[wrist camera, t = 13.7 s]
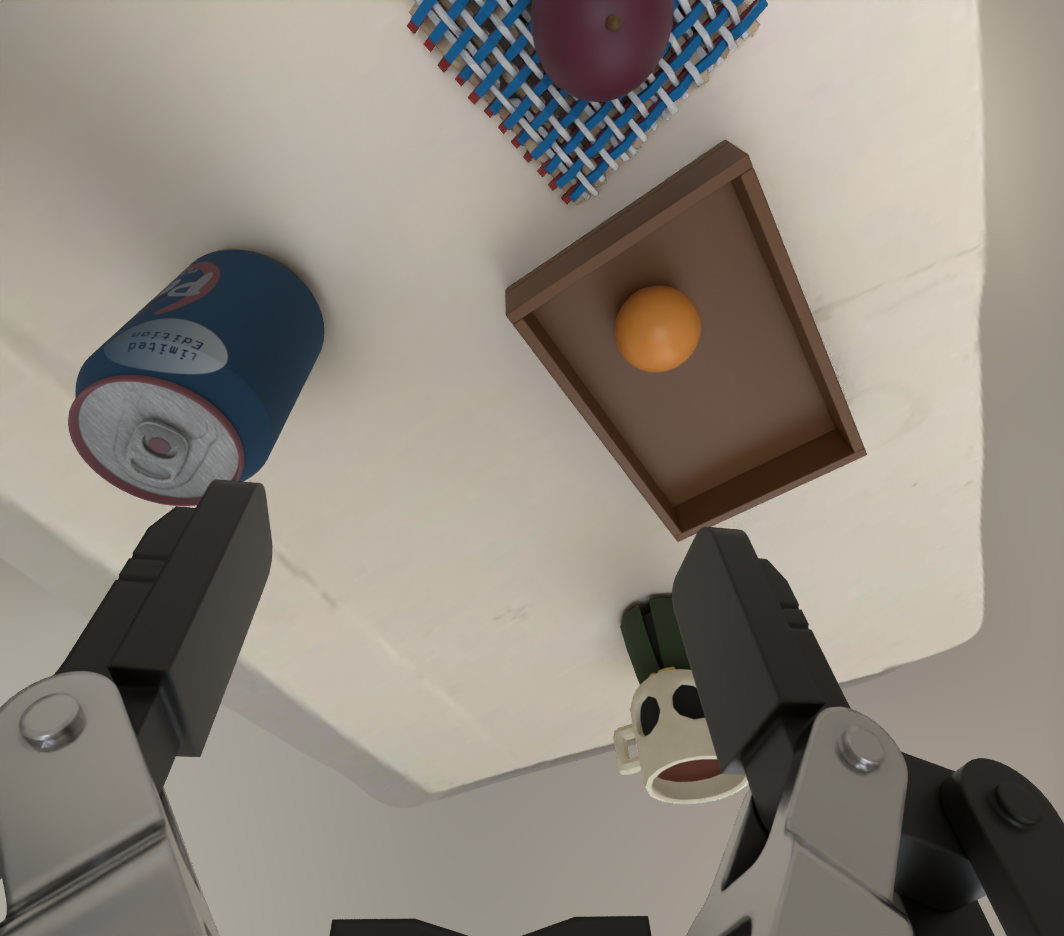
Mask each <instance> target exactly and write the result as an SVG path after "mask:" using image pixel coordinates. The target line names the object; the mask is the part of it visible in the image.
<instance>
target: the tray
mask: <svg viewBox="0 0 1064 936" xmlns="http://www.w3.org/2000/svg"><path fill="white" fill-rule="evenodd" d="M660 285H662V286H669V287H673V288H675V289H678V290H680V291H681V292H683V293H684V294H686V295H687V296H688V297H689V298H690V299H691V300H692V302H693V303H694V304H695V306H696V308H697V310H698V313H699V316H700V321H701V333H700V339H699V342H698V344H697V346H696V348H695V350H694V352H693V353H692V355H691V356H690V357H689V358H688V359H687V360H686V361H685V362H684V363H682V364H681V365H680V366H678V367H676V368H674V369H672V370H669V371H665V372H658V373H654V372H647V371H643V370H640V369H638V368H636V367H634V366H632V365H631V364H630V363H628V362H627V361H626V360H625V358H624V357H623V356H622V355H621V353H620V351H619V349H618V347H617V344H616V340H615V334H614V329H615V321H616V318H617V315H618V312H619V311H620V309H621V307H622V305H623V304H624V303H625V301H626V300H627V299H628V298H629V297H630V296H631V295H632V294H633V293H635V292H636V291H638V290H639V289H642V288H645V287H650V286H660ZM505 293H506V295H505V298H506V316H507V318H508V319H509V320H510V321H511V323H512V324H513V325H514V327H515V328H516V329H517V331H518V332H519V333H520V335H521V336H522V337H523V339H524V340H525V341H526V342H527V344H528V345H529V346H530V348H531V349H532V350H533V352H534V353H535V354H536V356H537V357H538V358H539V360H540V361H541V362H542V364H543V365H544V366H545V368H546V369H547V370H548V372H549V373H550V374H551V375H552V377H553V378H554V379H555V381H556V382H557V383H558V385H559V386H560V387H561V389H562V390H563V391H564V393H565V394H566V395H567V397H568V398H569V399H570V401H571V402H572V403H573V404H574V406H575V407H576V408H577V410H578V411H579V412H580V414H581V415H582V416H583V418H584V419H585V420H586V422H587V423H588V424H589V426H590V427H591V428H592V430H593V431H594V432H595V433H596V435H597V436H598V437H599V439H600V440H601V441H602V443H603V444H604V445H605V447H606V448H607V449H608V451H609V452H610V453H611V455H612V456H613V457H614V459H615V460H616V461H617V463H618V464H619V465H620V466H621V468H622V469H623V470H624V472H625V473H626V474H627V476H628V477H629V478H630V480H631V481H632V482H633V484H634V485H635V486H636V488H637V489H638V490H639V492H640V493H641V494H642V495H643V497H644V498H645V499H646V501H647V502H648V503H649V505H650V506H651V507H652V509H653V510H654V511H655V513H656V514H657V515H658V517H659V518H660V519H661V521H662V522H663V523H664V525H665V526H666V527H667V528H668V530H669V531H670V532H671V534H672V535H673V536H674V538H675V539H676V540H677V541H678V542H679V541H681V540H683V539H685V538H687V537H689V536H692V535H694V534H696V533H697V532H698V531H699V530H700V529H701V528H702V527H711V526H713V525H716V524H718V523H720V522H722V521H724V520H726V519H729V518H731V517H733V516H735V515H737V514H739V513H742V512H744V511H746V510H748V509H750V508H752V507H755V506H757V505H759V504H761V503H763V502H766V501H768V500H770V499H772V498H774V497H776V496H779V495H781V494H783V493H785V492H787V491H789V490H792V489H794V488H796V487H798V486H800V485H802V484H805V483H807V482H809V481H811V480H813V479H816V478H818V477H820V476H822V475H824V474H826V473H829V472H831V471H833V470H835V469H837V468H839V467H842V466H844V465H846V464H848V463H850V462H852V461H855V460H857V459H859V458H861V457H863V456H866V455H867V453H866V450H865V448H864V445H863V443H862V440H861V438H860V435H859V433H858V430H857V428H856V425H855V423H854V420H853V418H852V415H851V413H850V410H849V408H848V405H847V403H846V400H845V397H844V395H843V392H842V390H841V387H840V385H839V382H838V380H837V377H836V375H835V372H834V370H833V367H832V365H831V362H830V360H829V357H828V355H827V352H826V350H825V347H824V344H823V342H822V339H821V337H820V334H819V332H818V329H817V327H816V324H815V322H814V319H813V317H812V314H811V312H810V309H809V307H808V304H807V302H806V299H805V297H804V294H803V291H802V289H801V286H800V284H799V281H798V279H797V276H796V274H795V271H794V269H793V266H792V264H791V261H790V259H789V256H788V254H787V251H786V249H785V246H784V244H783V241H782V239H781V236H780V233H779V231H778V228H777V226H776V223H775V221H774V218H773V216H772V213H771V211H770V208H769V206H768V203H767V201H766V198H765V196H764V193H763V191H762V188H761V186H760V183H759V180H758V178H757V175H756V173H755V170H754V168H753V165H752V163H751V160H750V158H749V155H748V154H747V153H745V152H744V151H742V150H741V149H739V148H738V147H736V146H735V145H733V144H732V143H730V142H729V141H727V140H724V141H723V142H721V143H720V144H718V145H717V146H715V147H714V148H712V149H711V150H710V151H708V152H707V153H705V154H704V155H702V156H701V157H699V158H698V159H696V160H695V161H693V162H692V163H690V164H689V165H688V166H686V167H685V168H683V169H682V170H680V171H679V172H677V173H676V174H674V175H673V176H671V177H670V178H668V179H667V180H666V181H664V182H663V183H661V184H660V185H658V186H657V187H655V188H654V189H652V190H651V191H649V192H648V193H646V194H645V195H644V196H642V197H641V198H639V199H638V200H636V201H635V202H633V203H632V204H630V205H629V206H627V207H626V208H624V209H623V210H622V211H620V212H619V213H617V214H616V215H614V216H613V217H611V218H610V219H608V220H607V221H605V222H604V223H602V224H601V225H600V226H598V227H597V228H595V229H594V230H592V231H591V232H589V233H588V234H586V235H585V236H583V237H582V238H580V239H579V240H578V241H576V242H575V243H573V244H572V245H570V246H569V247H567V248H566V249H564V250H563V251H561V252H560V253H558V254H557V255H556V256H554V257H553V258H551V259H550V260H548V261H547V262H545V263H544V264H542V265H541V266H539V267H538V268H536V269H535V270H534V271H532V272H531V273H529V274H528V275H526V276H525V277H523V278H522V279H520V280H519V281H517V282H516V283H514V284H513V285H512V286H510V287H509V288H507V289H506V290H505Z"/></svg>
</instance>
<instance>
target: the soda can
mask: <svg viewBox="0 0 1064 936" xmlns="http://www.w3.org/2000/svg"><path fill="white" fill-rule="evenodd" d="M323 341H324V322H323V317H322V314H321V311H320V308H319V306H318V304H317V301H316V300H315V298H314V296H313V294H312V293H311V291H310V290H309V289H308V287H307V286H306V285H305V284H304V283H303V281H302V280H301V279H300V278H299V277H298V276H297V275H295V274H294V273H293V272H292V271H291V270H289V269H288V268H286V267H285V266H284V265H282V264H280V263H279V262H277V261H275V260H273V259H271V258H269V257H266V256H263V255H261V254H257V253H254V252H249V251H243V250H222V251H216V252H212V253H209V254H207V255H204V256H202V257H200V258H199V259H197V260H196V261H194V262H193V263H192V264H191V265H190V266H189V267H188V268H186V269H185V270H184V271H183V272H182V273H181V274H180V275H179V276H178V277H177V278H175V279H174V280H173V281H172V282H171V283H170V284H169V285H168V286H167V287H166V288H165V289H163V290H162V291H161V292H160V293H159V294H158V295H157V296H156V297H155V298H154V299H152V300H151V301H150V302H149V303H148V304H147V305H146V306H145V307H144V308H143V309H141V310H140V311H139V312H138V313H137V314H136V315H135V316H134V317H133V318H132V319H130V320H129V321H128V322H127V323H126V324H125V325H124V326H123V327H122V328H121V329H120V330H118V331H117V332H116V333H115V334H114V335H113V336H112V337H111V338H110V339H109V340H107V341H106V342H105V343H104V344H103V345H102V346H101V347H100V348H99V349H98V350H96V351H95V352H94V353H93V354H92V355H91V356H90V357H89V358H88V359H87V360H86V361H85V363H84V364H83V366H82V367H81V369H80V372H79V374H78V377H77V382H76V399H75V400H74V402H73V403H72V406H71V408H70V411H69V418H68V426H69V432H70V436H71V439H72V441H73V443H74V445H75V447H76V449H77V451H78V452H79V454H80V455H81V457H82V458H83V459H84V461H85V462H86V463H87V464H88V465H89V466H90V467H91V468H92V469H93V470H94V471H95V472H96V473H97V474H99V475H100V476H101V477H102V478H104V479H105V480H106V481H108V482H109V483H111V484H112V485H114V486H116V487H117V488H119V489H121V490H123V491H125V492H127V493H129V494H131V495H133V496H136V497H138V498H141V499H144V500H147V501H151V502H155V503H159V504H164V505H172V506H195V505H198V503H199V502H200V500H201V498H202V496H203V494H204V493H205V491H206V489H207V487H208V486H209V484H210V483H211V482H212V481H213V480H215V479H220V480H231V481H241V482H243V481H245V480H247V479H248V478H250V477H251V476H253V475H254V474H255V473H257V472H258V471H259V470H260V469H261V468H262V466H263V465H264V464H265V462H266V461H267V459H268V457H269V455H270V453H271V451H272V449H273V447H274V445H275V443H276V441H277V439H278V437H279V435H280V433H281V431H282V429H283V427H284V425H285V422H286V420H287V418H288V416H289V414H290V412H291V410H292V408H293V406H294V404H295V402H296V400H297V398H298V396H299V394H300V392H301V390H302V388H303V386H304V384H305V382H306V380H307V378H308V376H309V374H310V372H311V370H312V368H313V366H314V364H315V362H316V360H317V358H318V356H319V354H320V351H321V349H322V346H323Z"/></svg>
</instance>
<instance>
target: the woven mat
mask: <svg viewBox="0 0 1064 936" xmlns="http://www.w3.org/2000/svg"><path fill="white" fill-rule="evenodd" d="M415 1H416V3H415V4H414V5H413V7H412V9H411V10H410V12H409V13H410V14H411V15H412V18H411V21H410V22H409V23H408V25H407V27H408V28H409V29H410V30H411V31H412V33H413V34H414V33H416V31H417V30H418V29H419V27H420V26H421V28H422V29H423V30H424V31H425V32H426V34H427V35H428V36H429V37H428V39H427V40H426V41H425V43H424V45H425V46H426V48H427V49H428V50H429V51H430V52H431V51H432V50H433V48H434V47H435V46H437V47H438V49H439V50H440V51H441V52H442V54H443V55H444V57H443V58H442V60H441V61H440V62H439V64H438V67H439V68H440V69H441V70H442V71H443V72H445V71H446V70H447V69H448V67H449V66H450V65H451V64H452V65H453V66H454V67H455V68H457V69H458V70H459V71H460V73H459V75H458V76H457V77H456V78H455V80H456V81H457V82H458V83H459V84H460V86H462V85H463V84H464V83H465V81H467V80H468V81H469V82H470V83H471V84H472V85H473V86H474V87H475V89H474V90H473V92H472V93H471V94H470V95H469V96H468V99H469V100H470V101H471V102H472V103H473V104H474V105H475V103H476V102H477V101H478V100H479V99H480V98H482V96H483V97H484V99H485V100H486V101H487V102H488V103H489V105H488V106H487V108H486V109H485V110H484V112H485V113H486V114H487V115H488V116H489V117H490V118H491V116H492V115H493V114H494V115H495V114H497V113H498V114H499V116H500V117H501V118H502V119H503V120H504V121H503V122H502V123H501V124H500V125H499V127H498V128H499V129H500V131H501V132H502V133H503V134H504V133H505V132H506V131H507V129H508V130H510V129H512V130H513V131H514V133H515V134H516V135H517V136H516V137H515V138H514V139H513V140H512V141H511V143H512V144H513V145H514V146H515V147H516V148H518V147H519V146H520V145H522V146H523V145H525V147H526V148H527V149H528V150H527V152H526V153H525V155H524V156H523V157H524V158H525V159H526V161H527V162H530V161H531V160H532V158H534V159H535V160H538V161H539V162H541V163H542V164H543V165H542V166H541V167H540V168H539V169H538V171H537V172H538V173H539V174H540V175H541V176H542V177H544V176H545V174H546V173H547V172H548V174H551V175H552V176H553V177H554V179H553V180H552V181H551V182H550V183H549V184H548V186H549V187H550V188H551V189H552V190H554V189H556V188H557V187H558V186H559V187H560V188H563V189H564V190H565V191H566V193H565V194H564V195H563V196H562V197H561V198H562V200H563V201H564V202H565V203H566V204H568V203H569V202H570V201H571V200H572V201H573V202H575V203H576V204H579V203H580V202H581V201H583V200H584V199H586V200H587V199H588V198H589V197H590V194H589V193H588V192H587V191H586V189H588V190H589V191H590V192H591V193H592V194H593V195H594V196H596V195H599V193H598V192H597V190H596V189H595V188H594V187H593V186H592V185H591V184H593V185H594V186H595V187H598V186H600V185H602V184H604V183H606V176H605V171H606V169H607V168H608V166H609V165H610V166H611V167H612V168H613V169H614V170H615V171H616V170H617V167H618V165H620V164H621V163H622V162H623V160H624V162H625V161H627V160H628V159H629V158H630V157H629V156H628V155H627V153H626V152H625V151H627V150H628V151H629V153H630V154H631V155H632V156H633V157H634V156H635V155H636V154H637V151H636V149H635V148H641V146H642V144H643V142H645V141H646V139H647V136H646V135H645V134H644V132H645V131H647V130H648V129H649V128H650V127H651V128H652V129H653V131H655V129H656V128H657V127H658V125H657V123H656V120H657V119H658V118H659V116H660V115H661V116H662V118H663V120H664V121H666V120H669V119H670V117H669V115H668V113H667V111H666V109H665V108H667V107H668V108H669V110H670V112H671V114H672V115H673V114H675V113H676V112H678V110H677V108H676V107H675V105H674V103H673V102H675V101H676V100H677V99H679V98H680V97H682V99H683V100H685V99H686V98H687V97H688V95H689V94H688V93H687V92H686V90H687V89H688V88H689V86H690V85H691V83H692V82H693V81H695V82H696V84H697V85H698V87H700V86H701V85H703V84H704V83H706V82H707V81H709V77H708V71H709V73H710V72H711V70H712V69H713V68H714V66H713V64H714V63H715V62H716V63H717V64H718V66H719V65H720V63H721V62H722V61H723V60H725V59H726V58H727V56H728V53H729V51H730V50H731V52H732V51H734V50H735V49H737V48H738V47H737V45H736V42H735V40H736V39H737V38H739V37H740V36H741V37H742V38H743V39H744V41H745V39H746V38H747V37H748V36H752V37H753V35H754V34H755V32H756V31H757V29H758V27H759V26H760V24H759V23H758V21H757V20H756V18H757V17H758V16H759V15H760V13H761V12H762V11H763V10H764V9H765V8H766V7H767V6H768V3H767V2H766V0H755V1H754V2H753V3H752V4H751V5H750V6H749V7H748V8H747V6H746V4H745V2H744V1H745V0H719V1H720V3H721V5H720V6H719V7H718V8H717V9H716V10H715V11H714V9H713V6H712V3H713V2H714V1H715V0H674V15H673V24H672V29H671V34H670V38H669V41H668V44H667V47H666V49H665V51H664V54H663V56H662V58H661V60H660V61H659V63H658V65H657V66H656V68H655V69H654V71H653V72H652V73H651V75H650V76H649V77H648V78H647V80H646V81H644V82H643V83H642V84H641V85H640V86H638V87H637V88H636V89H634V90H633V91H631V92H630V93H628V94H627V96H628V97H629V99H628V100H627V101H626V103H625V104H624V105H622V104H621V102H620V101H619V100H621V99H622V98H623V97H624V96H626V95H624V96H622V97H620V98H618V99H615V100H611V101H606V102H590V103H591V104H592V106H593V108H591V107H590V106H589V105H588V103H589V101H584V100H581V99H577V98H575V97H573V96H571V95H569V94H567V93H566V92H564V91H563V90H562V89H560V88H559V87H558V86H557V85H556V84H555V83H554V82H553V81H552V80H551V79H550V77H549V76H548V75H547V73H546V72H545V70H544V68H543V67H542V65H541V63H540V61H539V58H538V56H537V53H536V50H535V46H534V42H533V37H532V29H531V10H532V1H533V0H510V1H511V3H512V4H513V6H512V7H511V6H510V5H509V4H508V2H507V1H506V0H475V1H476V3H477V4H478V5H479V6H480V7H481V9H480V10H479V11H478V13H477V14H476V15H474V14H473V13H472V11H471V10H470V9H469V8H468V7H467V4H468V3H469V1H470V0H415ZM438 2H440V3H441V4H442V5H443V6H444V8H445V9H446V10H447V11H448V12H447V13H446V12H445V10H444V9H443V8H442V7H441V5H440V4H439V3H438ZM679 4H680V5H681V8H682V10H683V12H684V13H683V14H681V13H680V11H679V10H678V8H677V7H678V6H679ZM706 8H707V11H708V14H709V15H708V14H707V12H706V10H705V9H706ZM433 9H434V10H435V11H436V13H437V14H438V15H439V17H440V18H441V19H442V20H440V19H439V18H438V16H437V15H436V14H435V13H434V12H433ZM520 14H521V15H522V16H523V18H524V19H525V20H526V22H527V23H528V25H527V26H525V24H524V23H523V22H522V20H521V19H520V18H519V16H520ZM488 17H489V18H490V20H491V21H492V22H493V23H494V25H495V26H496V27H495V28H494V30H493V31H492V33H491V34H490V33H489V32H488V31H487V30H486V28H485V27H484V26H483V23H484V22H485V21H486V20H487V18H488ZM728 17H729V18H730V20H731V21H732V23H731V24H730V25H729V26H728V27H727V28H726V27H725V26H724V25H723V24H724V23H725V21H726V20H727V18H728ZM674 19H675V20H674ZM455 20H456V22H457V23H458V24H459V25H460V26H461V27H462V29H463V30H464V31H463V32H462V31H461V29H460V28H459V27H458V26H457V25H456V24H455V22H454V21H455ZM692 26H693V27H694V29H695V30H696V31H695V32H694V33H693V31H692V29H691V27H692ZM449 28H450V29H451V31H452V32H453V33H454V34H455V35H456V36H457V37H458V39H456V38H455V37H454V36H453V34H452V33H451V32H450V31H449V30H448V29H449ZM719 33H720V34H719ZM684 34H685V35H684ZM502 36H504V37H505V38H506V39H507V40H508V42H509V43H510V44H511V46H510V47H509V48H508V49H507V50H506V52H505V51H504V50H503V49H502V48H501V46H500V45H499V44H498V42H499V40H500V39H501V38H502ZM686 37H687V38H686ZM471 39H472V40H473V42H474V43H475V44H476V45H477V46H478V47H479V49H478V50H477V49H476V48H475V47H474V45H473V44H472V43H471V42H470V40H471ZM687 39H688V40H687ZM702 42H703V43H704V44H705V46H706V47H707V48H705V49H703V48H702V46H701V45H700V44H701V43H702ZM728 46H729V48H730V50H729V48H728ZM465 47H466V48H467V49H468V51H469V52H470V53H471V54H472V56H473V57H471V56H470V55H469V54H468V53H467V51H466V50H465V49H464V48H465ZM669 48H670V49H671V51H672V52H673V55H672V56H671V57H670V58H669V59H668V60H667V61H665V60H664V58H663V57H664V56H665V54H666V52H667V51H668V49H669ZM518 54H519V55H520V56H521V58H522V59H523V60H524V61H525V62H524V63H523V65H522V66H521V67H520V68H519V69H518V68H517V66H516V65H515V64H514V62H513V61H512V60H513V59H514V58H515V57H516V56H517V55H518ZM486 57H487V58H488V59H489V60H490V62H491V63H492V64H493V65H494V66H493V67H492V68H491V67H490V65H489V64H488V63H487V62H486V60H485V58H486ZM479 65H480V66H481V67H482V68H483V69H484V71H485V72H486V73H487V74H486V73H485V72H484V71H483V70H482V69H481V68H480V67H479ZM682 65H683V66H684V67H685V68H684V69H683V70H682V72H681V73H680V74H679V76H678V77H676V75H675V73H674V72H675V71H676V70H677V69H678V68H680V67H681V66H682ZM532 71H533V72H534V74H535V75H536V76H537V77H538V78H539V80H538V81H537V82H536V83H535V85H534V86H533V85H532V84H531V83H530V82H529V80H528V79H527V77H528V76H529V75H530V73H531V72H532ZM500 75H502V76H503V78H504V79H505V81H506V84H505V85H504V87H503V88H502V90H500V89H499V87H500V78H499V76H500ZM546 89H548V91H549V92H550V93H551V94H552V96H551V97H550V98H549V99H548V101H547V102H546V101H545V100H544V98H543V97H542V96H541V94H542V93H543V92H544V91H545V90H546ZM514 92H515V93H516V94H518V95H519V96H520V97H521V98H522V100H521V101H520V100H519V99H513V98H509V97H510V96H511V95H512V94H513V93H514ZM656 93H657V94H658V95H659V96H660V97H659V98H658V97H657V96H656V95H655V94H656ZM559 104H560V106H561V107H562V108H563V109H564V110H565V112H564V113H563V114H562V115H561V117H560V118H559V116H558V115H557V114H556V113H555V112H554V111H555V110H556V108H557V107H558V105H559ZM514 106H516V107H514ZM529 108H530V109H531V110H532V111H533V112H534V113H535V115H534V116H533V115H532V114H531V112H530V111H529V110H528V109H529ZM637 110H639V111H640V112H641V114H642V115H641V116H640V117H639V118H638V119H637V120H636V121H634V120H633V118H632V117H633V116H634V114H635V113H636V112H637ZM523 116H525V117H526V118H527V119H528V121H529V122H527V121H526V119H525V118H524V117H523ZM602 120H604V121H605V122H606V123H607V124H605V123H604V122H602ZM572 122H575V124H576V125H577V126H576V127H575V128H574V129H573V131H572V132H571V131H570V130H569V129H568V126H569V125H570V124H571V123H572ZM542 124H544V125H545V126H546V128H547V129H548V130H547V131H546V130H545V129H544V127H543V126H542ZM536 130H537V131H538V132H539V133H540V134H541V136H539V135H538V134H537V133H536V132H535V131H536ZM614 134H615V135H616V136H617V137H618V140H617V138H616V137H615V135H614ZM585 136H586V137H587V139H588V140H589V141H590V142H589V143H588V144H587V145H586V146H585V147H583V146H582V144H581V143H580V142H581V141H582V139H583V138H584V137H585ZM556 139H557V141H558V142H559V143H560V144H561V145H560V146H559V145H558V144H557V143H556V142H555V140H556ZM550 147H552V148H553V149H554V150H555V152H553V151H552V150H551V149H550ZM598 152H599V154H600V156H599V157H598V158H596V159H595V160H593V158H592V157H593V156H594V155H595V154H597V153H598ZM567 155H570V156H571V157H572V158H573V159H572V160H571V159H570V158H569V157H568V156H567ZM562 160H563V161H564V162H565V164H566V165H567V166H565V165H564V164H563V162H562ZM580 169H581V170H582V171H583V173H581V171H580ZM575 176H577V177H578V180H577V179H576V178H575Z"/></svg>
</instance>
